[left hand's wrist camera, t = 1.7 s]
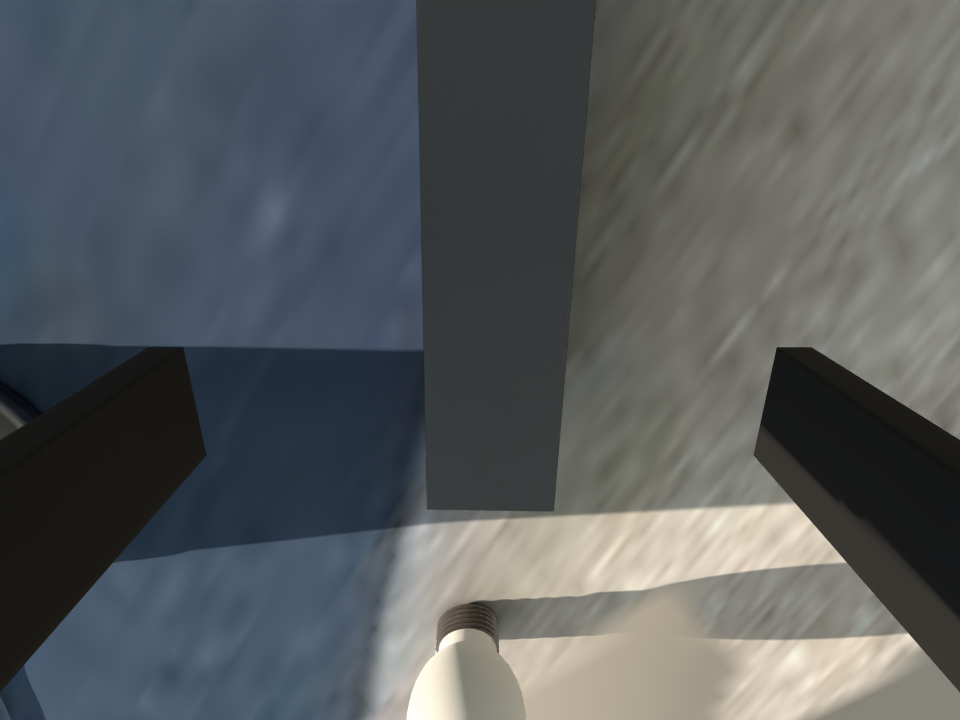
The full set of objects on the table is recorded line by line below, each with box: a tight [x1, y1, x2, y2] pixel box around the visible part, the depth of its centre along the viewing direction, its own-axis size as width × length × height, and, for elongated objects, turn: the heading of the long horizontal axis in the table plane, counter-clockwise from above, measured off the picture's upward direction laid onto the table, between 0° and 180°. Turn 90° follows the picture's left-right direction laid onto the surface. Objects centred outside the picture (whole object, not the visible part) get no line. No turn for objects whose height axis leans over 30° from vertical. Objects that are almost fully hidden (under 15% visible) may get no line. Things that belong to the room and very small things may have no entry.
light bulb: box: [407, 604, 526, 720], centre depth 32 cm, size 7×7×11 cm
